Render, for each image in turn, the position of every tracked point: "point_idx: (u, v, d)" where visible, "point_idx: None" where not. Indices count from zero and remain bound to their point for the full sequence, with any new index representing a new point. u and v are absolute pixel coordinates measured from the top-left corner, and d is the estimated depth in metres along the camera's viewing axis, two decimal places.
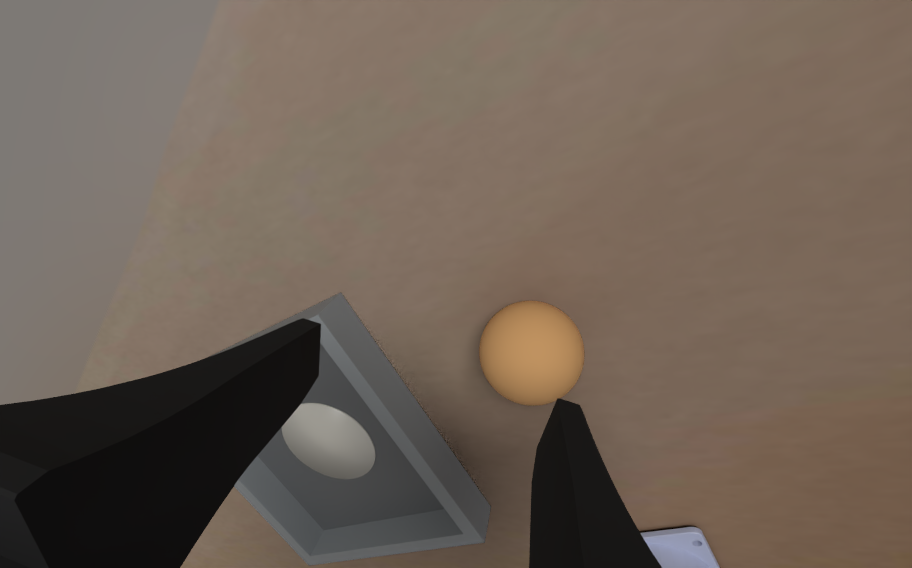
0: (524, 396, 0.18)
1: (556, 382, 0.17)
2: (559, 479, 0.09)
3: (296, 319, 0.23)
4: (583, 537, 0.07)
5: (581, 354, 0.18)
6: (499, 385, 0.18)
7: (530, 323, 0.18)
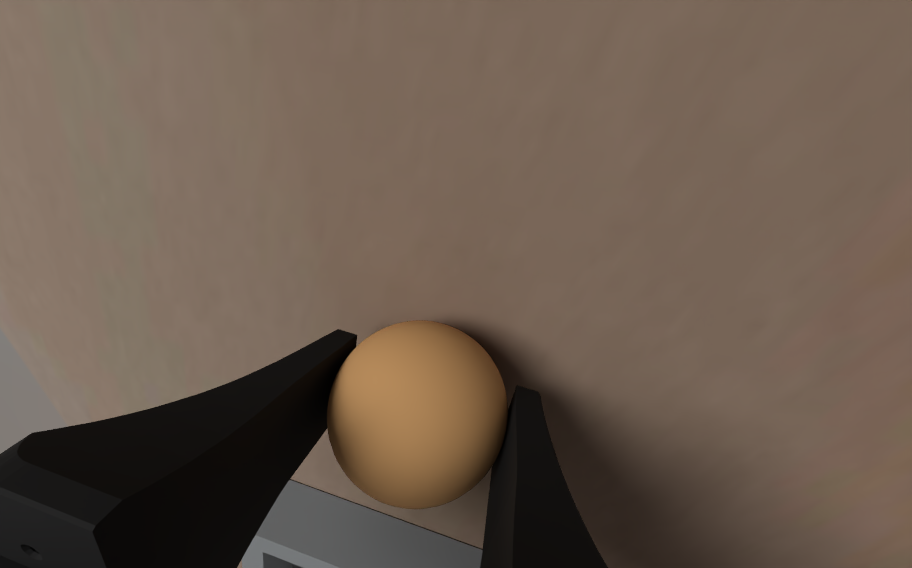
0: (409, 498, 0.09)
1: (417, 446, 0.09)
2: (509, 462, 0.09)
3: None
4: (518, 514, 0.07)
5: (444, 366, 0.10)
6: (381, 501, 0.10)
7: (338, 383, 0.10)
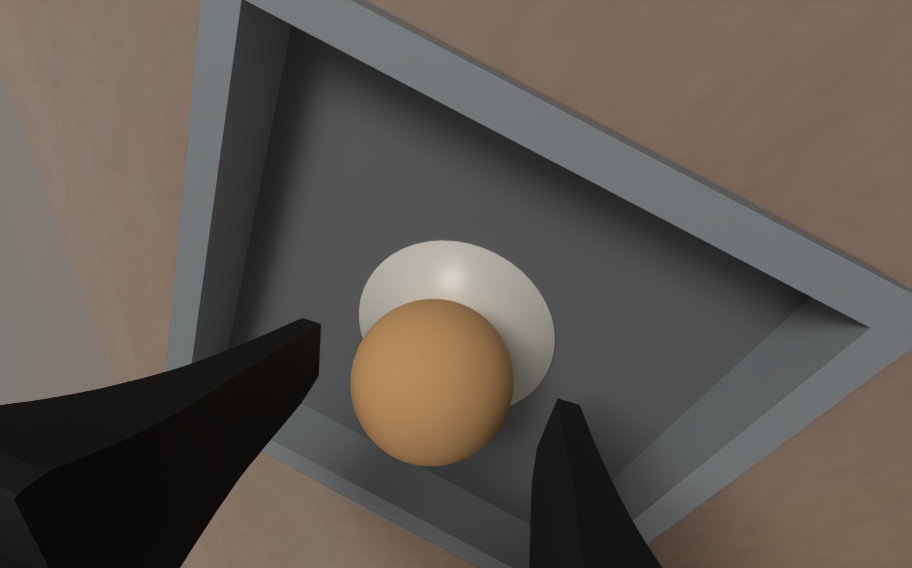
0: (427, 454, 0.11)
1: (435, 404, 0.10)
2: (559, 479, 0.09)
3: None
4: (583, 537, 0.07)
5: (457, 335, 0.11)
6: (401, 460, 0.11)
7: (361, 353, 0.11)
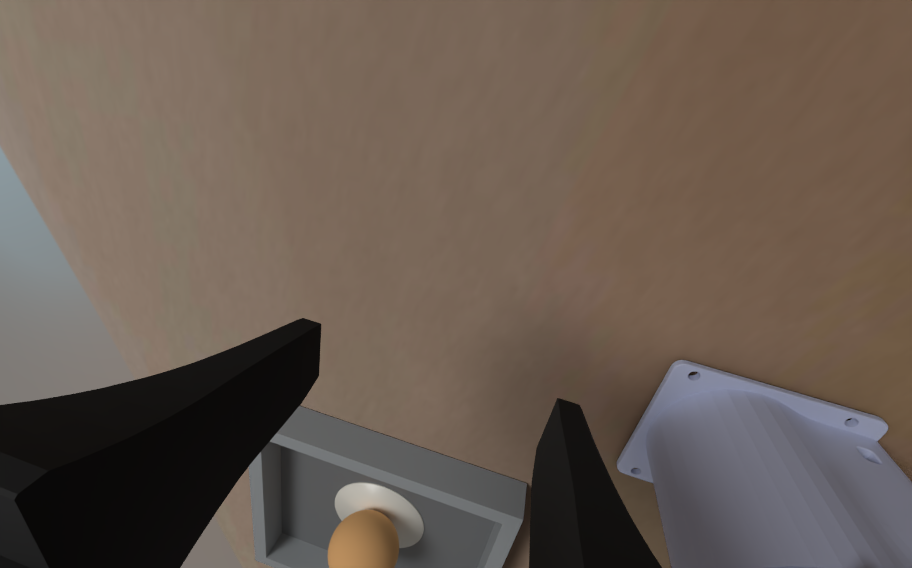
0: None
1: None
2: (559, 479, 0.09)
3: None
4: (583, 537, 0.07)
5: (361, 540, 0.27)
6: None
7: (329, 548, 0.28)
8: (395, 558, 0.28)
